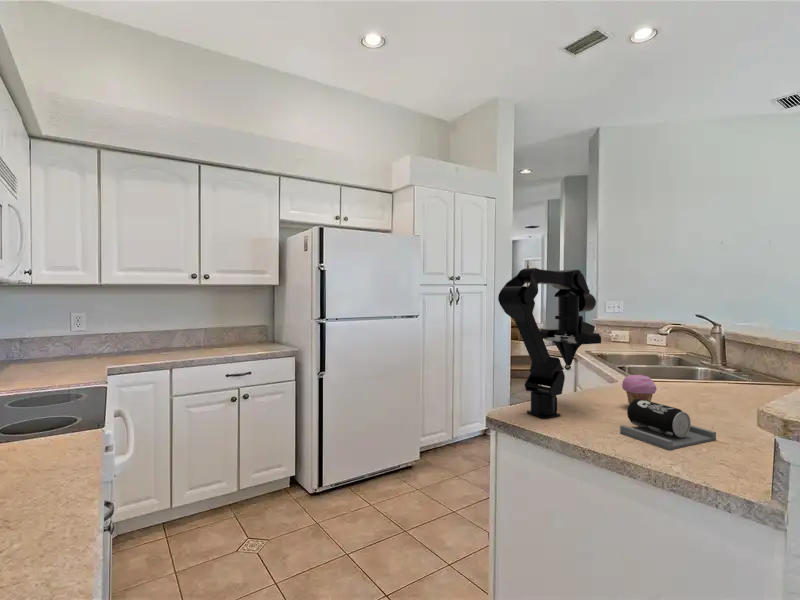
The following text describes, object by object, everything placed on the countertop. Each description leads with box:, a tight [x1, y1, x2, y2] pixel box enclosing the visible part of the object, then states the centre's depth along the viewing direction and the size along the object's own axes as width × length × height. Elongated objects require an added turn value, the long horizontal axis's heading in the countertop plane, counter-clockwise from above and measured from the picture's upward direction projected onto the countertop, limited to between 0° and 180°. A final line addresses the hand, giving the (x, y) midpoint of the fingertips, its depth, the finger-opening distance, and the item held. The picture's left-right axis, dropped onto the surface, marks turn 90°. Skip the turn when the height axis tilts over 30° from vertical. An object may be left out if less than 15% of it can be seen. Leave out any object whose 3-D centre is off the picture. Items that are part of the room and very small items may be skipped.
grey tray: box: [619, 424, 717, 451], centre depth 98 cm, size 16×12×2 cm
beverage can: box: [626, 399, 692, 437], centre depth 100 cm, size 7×7×12 cm
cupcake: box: [621, 374, 657, 406], centre depth 122 cm, size 9×9×10 cm
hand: (568, 365), depth 124 cm, fingers closed
